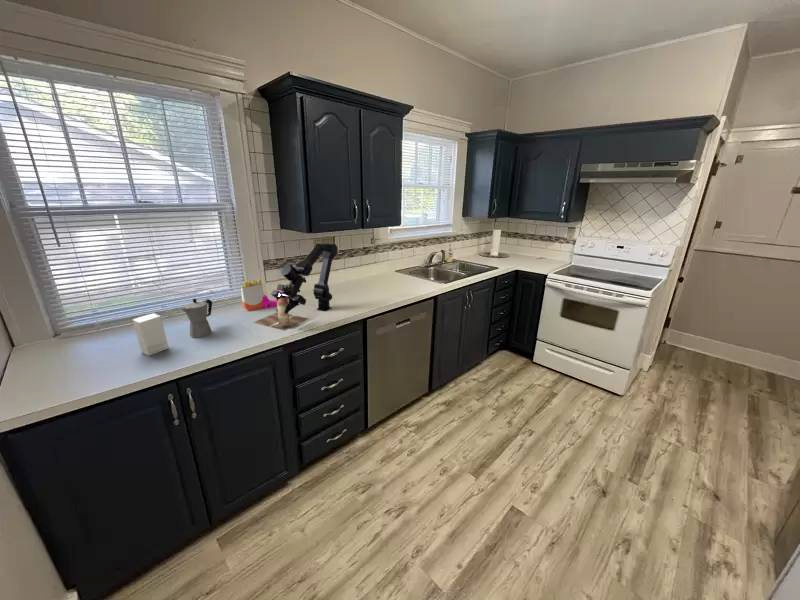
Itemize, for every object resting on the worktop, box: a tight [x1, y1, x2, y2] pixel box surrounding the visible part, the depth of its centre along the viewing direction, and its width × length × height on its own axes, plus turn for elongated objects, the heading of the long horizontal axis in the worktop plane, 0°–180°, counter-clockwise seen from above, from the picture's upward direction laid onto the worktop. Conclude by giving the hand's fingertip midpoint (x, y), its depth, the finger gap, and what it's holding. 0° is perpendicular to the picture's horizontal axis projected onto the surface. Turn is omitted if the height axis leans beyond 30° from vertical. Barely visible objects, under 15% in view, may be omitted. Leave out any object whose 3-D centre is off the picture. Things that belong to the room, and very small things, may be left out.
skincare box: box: [132, 313, 169, 356], centre depth 138 cm, size 8×7×16 cm
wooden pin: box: [276, 298, 290, 326], centre depth 162 cm, size 5×5×14 cm
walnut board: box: [252, 311, 310, 332], centre depth 172 cm, size 18×22×1 cm
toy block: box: [262, 291, 289, 310], centre depth 195 cm, size 15×6×8 cm, turn 134°
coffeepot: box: [182, 298, 213, 339], centre depth 155 cm, size 15×9×18 cm, turn 162°
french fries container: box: [240, 279, 265, 312], centre depth 186 cm, size 5×11×18 cm, turn 134°
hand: (281, 312), depth 161 cm, fingers closed on wooden pin, 5 cm apart
